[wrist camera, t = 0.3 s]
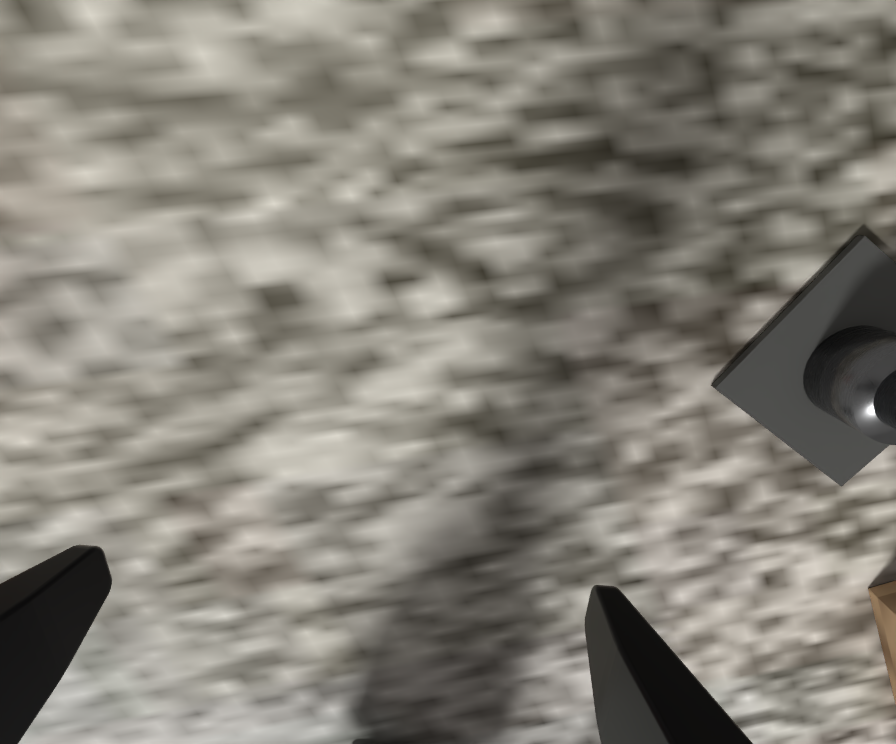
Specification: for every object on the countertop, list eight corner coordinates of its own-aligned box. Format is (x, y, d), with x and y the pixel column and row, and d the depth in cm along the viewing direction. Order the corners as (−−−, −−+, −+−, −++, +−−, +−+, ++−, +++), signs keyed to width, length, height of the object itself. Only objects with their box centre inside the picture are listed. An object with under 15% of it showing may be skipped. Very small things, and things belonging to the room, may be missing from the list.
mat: (835, 482, 23) (841, 486, 23) (711, 385, 22) (715, 388, 22) (987, 350, 21) (996, 353, 21) (857, 235, 20) (865, 235, 20)
